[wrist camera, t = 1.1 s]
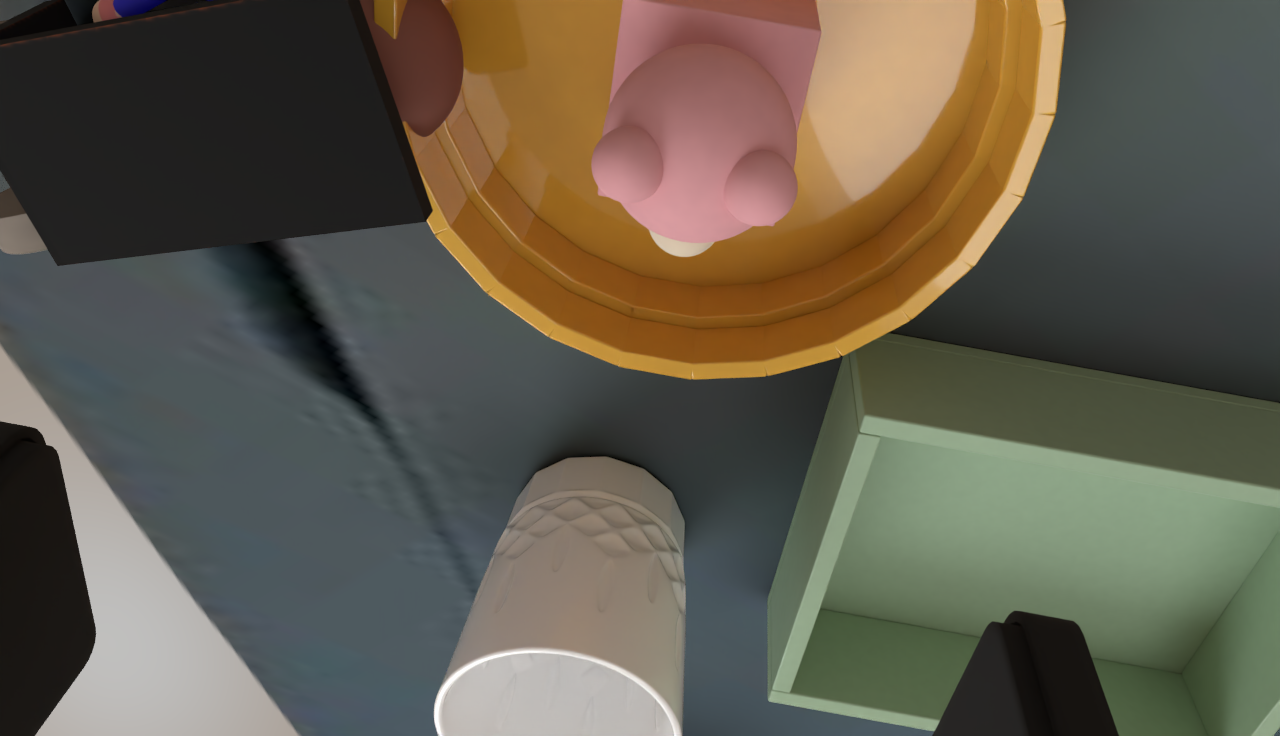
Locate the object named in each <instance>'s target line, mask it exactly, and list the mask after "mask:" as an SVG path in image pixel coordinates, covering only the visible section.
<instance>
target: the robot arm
mask: <svg viewBox="0 0 1280 736" xmlns="http://www.w3.org/2000/svg"><path fill="white" fill-rule="evenodd" d="M95 637H96V628H95V623H94V619H93V614H92V609H91V604H90V600H89V595H88V590H87V586H86V581H85V576H84V572H83V567H82V563H81V558H80V553H79V548H78V544H77V539H76V534H75V530H74V525H73V520H72V516H71V511H70V506H69V502H68V497H67V492H66V488H65V483H64V478H63V474H62V469H61V464H60V460H59V456H58V453H57V451H56V450H55V449H54V448H53V447H52V446H48V445H46V443H45V440H44V438H43V435H42V434H41V433H40V432H39V431H38V430H37V429H35V428H32V427H27V426H22V425H17V424H11V423H6V422H0V736H35V735H36V733H37V732H38V730H39V729H40V728H41V726H42V725H43V723H44V722H45V720H46V719H47V718H48V717H49V715H50V714H51V712H52V711H53V710H54V708H55V707H56V705H57V704H58V702H59V701H60V700H61V698H62V697H63V695H64V694H65V693H66V692H67V690H68V689H69V687H70V686H71V685H72V683H73V682H74V680H75V679H76V678H77V676H78V675H79V674H80V672H81V671H82V669H83V668H84V666H85V664H86V663H87V662H88V660H89V658H90V655H91V653H92V650H93V647H94V643H95ZM933 736H1119V734H1118V731H1117V728H1116V726H1115V723H1114V720H1113V717H1112V714H1111V711H1110V708H1109V706H1108V703H1107V700H1106V697H1105V694H1104V691H1103V689H1102V686H1101V683H1100V680H1099V677H1098V674H1097V671H1096V669H1095V666H1094V663H1093V660H1092V657H1091V654H1090V651H1089V649H1088V646H1087V643H1086V640H1085V637H1084V634H1083V632H1082V631H1081V629H1080V627H1079V625H1078V624H1076V623H1075V622H1074V621H1071V620H1066V619H1060V618H1055V617H1050V616H1044V615H1039V614H1034V613H1028V612H1023V611H1013V612H1012V613H1010V614H1009V615H1008V617H1007V618H1006V620H1005V621H1004V623H1001V622H994V621H992V622H991V623H989V624H988V626H987V627H986V629H985V630H984V632H983V635H982V637H981V639H980V641H979V643H978V645H977V647H976V649H975V651H974V653H973V655H972V657H971V659H970V661H969V663H968V665H967V667H966V669H965V671H964V673H963V675H962V677H961V679H960V681H959V683H958V685H957V687H956V689H955V691H954V693H953V695H952V697H951V699H950V701H949V703H948V705H947V707H946V709H945V711H944V713H943V715H942V717H941V719H940V721H939V723H938V725H937V727H936V729H935V732H934V734H933Z"/></svg>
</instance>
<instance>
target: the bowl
mask: <svg viewBox="0 0 1280 736" xmlns="http://www.w3.org/2000/svg"><path fill="white" fill-rule="evenodd" d="M441 1H442V2H443V4H444V5H445V7H446V8H447V10H448V11H449V13H450V15H451V17H452V18H453V20H454V23H455V25H456V28H457V30H458V33H459V37H460V40H461V44H462V50H463V61H464V71H463V80H462V85H461V89H460V93H459V96H458V99H457V101H456V103H455V105H454V107H453V109H452V111H451V113H450V114H449V116H448V117H447V118H446V120H445V121H444V122H443V123H442V124H441V126H440V127H439V128H438V129H436V130H435V131H434V132H433V133H432V134H430V135H429V136H427V137H422V136H419V135H417V134H416V133H415V132H414V131H413V130H412V129H411V128H410V126H409V125H408V123H407V122H405V121H404V122H402V123H403V126H404V129H405V132H406V135H407V138H408V140H409V143H410V146H411V149H412V152H413V155H414V158H415V161H416V163H417V166H418V169H419V172H420V175H421V178H422V181H423V183H424V186H425V189H426V192H427V195H428V198H429V201H430V204H431V206H432V209H433V212H432V213H431V215H430V216H429V218H428V219H427V220H426V221H427V222H428V224H429V226H430V228H431V230H432V232H433V233H434V234H435V236H436V237H437V239H438V240H439V241H440V242H441V243H442V244H443V245H444V246H445V247H446V249H447V250H448V251H449V252H450V253H451V254H452V255H453V256H454V258H455V259H456V260H457V261H458V262H459V263H460V264H461V265H462V267H463V268H464V269H465V270H466V271H467V272H468V273H469V274H470V275H471V277H472V278H473V279H474V280H475V281H476V282H477V283H478V284H479V286H480V287H481V288H482V289H483V290H484V291H485V292H487V293H488V295H490V296H491V297H492V298H494V299H495V300H497V301H498V302H499V303H501V304H502V305H504V306H505V307H507V308H508V309H509V310H511V311H512V312H514V313H515V314H516V315H518V316H519V317H521V318H522V319H523V320H525V321H526V322H528V323H529V324H531V325H532V326H533V327H535V328H536V329H538V330H539V331H540V332H542V333H543V334H545V335H546V336H550V338H551V339H554V340H556V341H559V342H561V343H563V344H566V345H568V346H571V347H573V348H575V349H578V350H580V351H583V352H585V353H587V354H590V355H592V356H595V357H597V358H599V359H602V360H604V361H607V362H609V363H611V364H614V365H618V366H619V367H623V368H629V369H634V370H640V371H645V372H651V373H657V374H662V375H668V376H673V377H679V378H684V379H718V378H743V377H765V376H766V375H768V376H771V375H775V374H779V373H783V372H786V371H790V370H794V369H798V368H802V367H805V366H809V365H813V364H817V363H821V362H824V361H828V360H832V359H836V358H839V357H840V356H844V355H846V354H848V353H850V352H852V351H854V350H856V349H858V348H860V347H862V346H863V345H865V344H867V343H869V342H871V341H873V340H875V339H877V338H879V337H881V336H883V335H885V334H887V333H888V332H890V331H892V330H894V329H896V328H898V327H900V326H902V325H904V324H906V323H908V322H909V321H910V320H911V319H914V318H915V317H916V316H917V315H918V314H920V313H921V312H922V311H923V310H924V309H925V308H927V307H928V306H929V305H930V304H931V303H932V302H934V301H935V300H936V299H937V298H938V297H939V296H941V295H942V294H943V293H944V292H945V291H946V290H948V289H949V288H950V287H951V286H952V285H953V284H955V283H956V282H957V281H958V280H959V279H960V278H962V277H963V276H964V275H965V274H966V273H967V272H969V271H970V270H971V269H972V267H974V266H975V265H976V264H977V262H978V261H979V260H980V258H981V257H982V255H983V254H984V253H985V251H986V250H987V248H988V247H989V246H990V244H991V243H992V241H993V240H994V239H995V237H996V236H997V234H998V233H999V232H1000V230H1001V229H1002V227H1003V226H1004V225H1005V223H1006V222H1007V221H1008V219H1009V218H1010V216H1011V215H1012V214H1013V212H1014V211H1015V209H1016V208H1017V207H1018V205H1019V204H1020V202H1021V201H1022V200H1023V196H1024V195H1025V193H1026V190H1027V188H1028V185H1029V183H1030V180H1031V178H1032V175H1033V172H1034V170H1035V167H1036V165H1037V162H1038V160H1039V157H1040V155H1041V152H1042V149H1043V147H1044V144H1045V142H1046V139H1047V137H1048V134H1049V132H1050V129H1051V126H1052V124H1053V121H1054V119H1055V113H1056V111H1057V104H1058V94H1059V85H1060V76H1061V67H1062V58H1063V49H1064V40H1065V31H1066V13H1065V7H1064V1H1063V0H816V4H817V10H818V16H819V22H820V28H821V37H820V41H819V45H818V49H817V53H816V57H815V61H814V66H813V70H812V74H811V78H810V82H809V86H808V90H807V94H806V98H805V102H804V107H803V111H802V115H801V119H800V123H799V127H798V131H797V153H796V159H795V165H794V169H793V170H794V172H795V174H796V178H797V184H798V190H797V197H796V200H795V202H794V204H793V206H792V208H791V210H790V211H789V212H788V213H787V214H786V215H785V216H784V217H783V218H782V219H780V220H779V221H777V222H775V225H774V226H767V225H766V226H752V227H751V228H749V229H748V230H746V231H744V232H742V233H740V234H738V235H736V236H733V237H731V238H728V239H724V240H720V241H716V242H714V243H713V245H712V246H711V247H709V248H708V249H707V250H706V251H704V252H702V253H700V254H698V255H695V256H690V257H679V256H675V255H672V254H669V253H667V252H665V251H664V250H663V249H661V248H660V247H659V246H658V245H657V244H656V243H655V241H654V240H653V238H652V236H651V234H650V231H649V229H648V228H646V227H645V226H643V225H642V224H640V223H639V222H638V221H637V220H636V219H634V218H633V217H632V216H631V215H630V214H629V213H628V212H627V210H626V209H625V208H624V207H623V206H622V204H621V203H620V202H619V201H616V200H613V199H612V198H610V197H605V196H600V195H598V185H597V184H596V182H595V180H594V177H593V173H592V166H591V163H592V156H593V152H594V149H595V147H596V145H597V144H598V142H599V141H600V139H601V138H602V133H603V128H604V123H605V118H606V114H607V112H608V109H609V102H610V94H611V87H612V79H613V71H614V64H615V56H616V48H617V41H618V33H619V26H620V18H621V10H622V3H623V0H441ZM406 3H407V0H374V21H375V23H376V24H378V25H379V26H381V27H382V28H383V29H384V30H385V31H386V32H388V33H389V35H390V36H391V37H392V38H393V39H396V38H397V36H398V31H399V26H400V22H401V18H402V15H403V11H404V8H405V6H406Z"/></svg>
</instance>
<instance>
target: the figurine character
mask: <svg viewBox="0 0 1280 736" xmlns="http://www.w3.org/2000/svg"><path fill="white" fill-rule="evenodd" d="M165 1H167V0H99V1H98V2H97V3H96V4H95V5H94V7H93V10H92V17H93V21H94V23H89V24H83V25H78V26H77V24H76V22H75V20H74V18H73V16H72V14H71V12H70V10H69V8H68V6H67V5H66V3H65V1H64V0H51V1H46V2H43V3H41V4H39V5H37V6H35V7H34V8H32V9H30V10H28V11H26V12H24V13H22V14H20V15H18V16H16V17H14V18H12V19H10V20H6V21H0V171H1V172H2V174H3V176H4V177H5V179H6V181H7V182H8V184H9V186H10V187H11V188H9V189H7V190H5V191H3V192H1V193H0V248H1V250H2V251H3V252H5V253H8V254H27V253H33V252H39V251H43V250H47V249H48V251H49V252H50V254H51V256H52V257H53V259H54V261H55V262H56V264H57V266H61V265H69V264H77V263H86V262H94V261H102V260H111V259H119V258H127V257H136V256H144V255H152V254H160V253H169V252H177V251H185V250H194V249H202V248H210V247H219V246H227V245H235V244H244V243H252V242H260V241H269V240H277V239H285V238H294V237H302V236H310V235H318V234H327V233H335V232H343V231H352V230H360V229H368V228H377V227H385V226H393V225H402V224H410V223H418V222H426V220H427V219H428V218H429V216H430V215H431V213H432V212H433V209H432V206H431V204H430V201H429V198H428V195H427V192H426V189H425V186H424V183H423V181H422V178H421V175H420V172H419V169H418V166H417V163H416V161H415V158H414V155H413V152H412V149H411V146H410V143H409V140H408V138H407V135H406V132H405V129H404V126H403V123H402V122H404V121H405V122H407V123H408V125H409V126H410V128H411V129H412V130H413V131H414V132H415V133H416V134H417V135H419V136H422V137H427V136H429V135H430V134H432V133H433V132H434V131H435V130H436V129H438V128H439V127H440V126H441V124H442V123H443V122H444V121H445V120H446V118H447V117H448V116H449V114H450V113H451V111H452V109H453V107H454V105H455V103H456V101H457V99H458V96H459V93H460V89H461V85H462V80H463V71H464V61H463V50H462V44H461V40H460V37H459V33H458V30H457V28H456V25H455V23H454V20H453V18H452V17H451V15H450V13H449V11H448V10H447V8H446V7H445V5H444V4H443V2H442V1H441V0H407V3H406V6H405V8H404V11H403V15H402V18H401V22H400V26H399V31H398V36H397V38H396V39H393V38H392V37H391V36H390V35H389V33H388V32H386V31H385V30H384V29H383V28H382V27H381V26H379V25H378V24H376V23H375V21H374V0H207V2H202V3H196V4H191V5H186V6H180V7H175V8H169V9H164V10H159V11H153V12H148V13H145V12H147V11H149V10H151V9H153V8H154V7H156V6H158V5H160V4H161V3H163V2H165Z"/></svg>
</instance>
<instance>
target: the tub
mask: <svg viewBox="0 0 1280 736" xmlns="http://www.w3.org/2000/svg"><path fill="white" fill-rule="evenodd" d="M767 609H768V701H770V702H775V703H781V704H786V705H792V706H797V707H803V708H808V709H814V710H819V711H825V712H830V713H836V714H841V715H847V716H852V717H858V718H863V719H869V720H874V721H880V722H885V723H891V724H896V725H902V726H907V727H913V728H918V729H924V730H929V731H935V729H936V727H937V725H938V723H939V721H940V719H941V717H942V715H943V713H944V711H945V709H946V707H947V705H948V703H949V701H950V699H951V697H952V695H953V693H954V691H955V689H956V687H957V685H958V683H959V681H960V679H961V677H962V675H963V673H964V671H965V669H966V667H967V665H968V663H969V661H970V659H971V657H972V655H973V653H974V651H975V649H976V647H977V645H978V643H979V641H980V639H981V637H982V635H983V632H984V630H985V629H986V627H987V626H988V624H989V623H991V622H992V621H994V622H1001V623H1004V621H1005V620H1006V618H1007V617H1008V615H1009V614H1010V613H1012V612H1013V611H1023V612H1028V613H1034V614H1039V615H1044V616H1050V617H1055V618H1060V619H1066V620H1071V621H1074V622H1075V623H1076V624H1078V625H1079V627H1080V629H1081V631H1082V632H1083V634H1084V637H1085V640H1086V643H1087V646H1088V649H1089V651H1090V654H1091V657H1092V660H1093V663H1094V666H1095V669H1096V671H1097V674H1098V677H1099V680H1100V683H1101V686H1102V689H1103V691H1104V694H1105V697H1106V700H1107V703H1108V706H1109V708H1110V711H1111V714H1112V717H1113V720H1114V723H1115V726H1116V728H1117V731H1118V734H1119V736H1273V735H1274V734H1275V733H1276V732H1277V731H1278V729H1279V728H1280V403H1276V402H1271V401H1265V400H1260V399H1254V398H1248V397H1243V396H1237V395H1232V394H1226V393H1221V392H1215V391H1209V390H1204V389H1198V388H1193V387H1187V386H1182V385H1176V384H1170V383H1165V382H1159V381H1154V380H1148V379H1142V378H1137V377H1131V376H1126V375H1120V374H1115V373H1109V372H1103V371H1098V370H1092V369H1087V368H1081V367H1076V366H1070V365H1064V364H1059V363H1053V362H1048V361H1042V360H1037V359H1031V358H1025V357H1020V356H1014V355H1009V354H1003V353H998V352H992V351H986V350H981V349H975V348H970V347H964V346H958V345H953V344H947V343H942V342H936V341H931V340H925V339H919V338H914V337H908V336H903V335H897V334H892V333H887V334H885V335H883V336H881V337H879V338H877V339H875V340H873V341H871V342H869V343H867V344H865V345H863V346H862V347H860V348H858V349H856V350H854V351H852V352H850V353H848V354H846V355H844V356H843V359H842V362H841V365H840V368H839V372H838V375H837V378H836V381H835V384H834V388H833V391H832V394H831V397H830V400H829V404H828V407H827V410H826V413H825V417H824V420H823V423H822V426H821V429H820V433H819V436H818V439H817V442H816V445H815V449H814V452H813V455H812V458H811V461H810V465H809V468H808V471H807V474H806V478H805V481H804V484H803V487H802V490H801V494H800V497H799V500H798V503H797V506H796V510H795V513H794V516H793V519H792V522H791V526H790V529H789V532H788V535H787V539H786V542H785V545H784V548H783V551H782V555H781V558H780V561H779V564H778V567H777V571H776V574H775V577H774V580H773V583H772V587H771V590H770V593H769V596H768V600H767Z"/></svg>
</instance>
